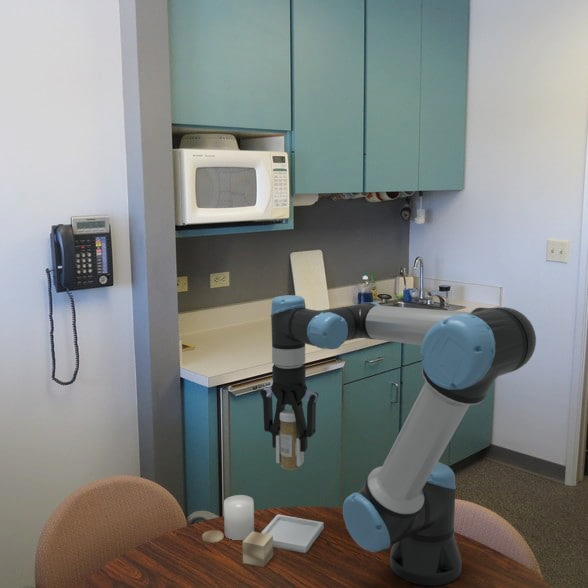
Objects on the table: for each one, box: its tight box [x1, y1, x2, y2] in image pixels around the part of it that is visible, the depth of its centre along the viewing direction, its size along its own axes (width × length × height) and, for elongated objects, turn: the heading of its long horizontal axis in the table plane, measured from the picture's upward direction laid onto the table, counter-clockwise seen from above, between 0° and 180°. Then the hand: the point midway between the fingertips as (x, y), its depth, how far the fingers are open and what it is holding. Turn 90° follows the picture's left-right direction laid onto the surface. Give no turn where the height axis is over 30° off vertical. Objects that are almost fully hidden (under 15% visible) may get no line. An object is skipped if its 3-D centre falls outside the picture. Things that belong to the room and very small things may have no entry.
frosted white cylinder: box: [223, 494, 255, 541], centre depth 164 cm, size 8×7×8 cm
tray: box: [260, 513, 325, 554], centre depth 162 cm, size 12×12×2 cm
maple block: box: [242, 531, 274, 568], centre depth 152 cm, size 5×5×5 cm
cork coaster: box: [201, 529, 225, 544], centre depth 162 cm, size 5×5×1 cm
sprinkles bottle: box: [279, 408, 301, 471], centre depth 159 cm, size 5×5×13 cm
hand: (290, 462), depth 160 cm, fingers closed on sprinkles bottle, 4 cm apart
